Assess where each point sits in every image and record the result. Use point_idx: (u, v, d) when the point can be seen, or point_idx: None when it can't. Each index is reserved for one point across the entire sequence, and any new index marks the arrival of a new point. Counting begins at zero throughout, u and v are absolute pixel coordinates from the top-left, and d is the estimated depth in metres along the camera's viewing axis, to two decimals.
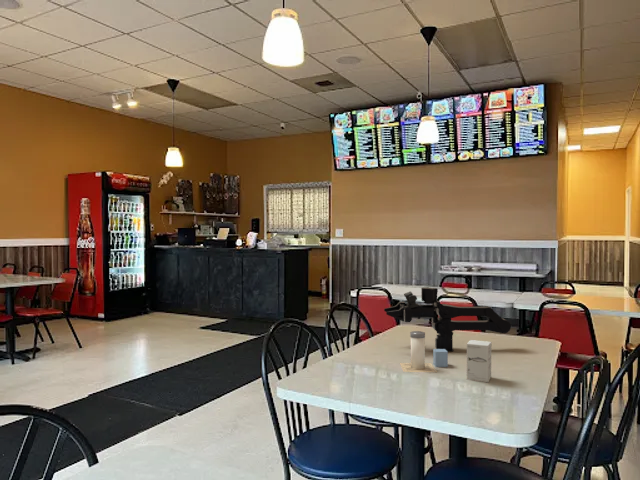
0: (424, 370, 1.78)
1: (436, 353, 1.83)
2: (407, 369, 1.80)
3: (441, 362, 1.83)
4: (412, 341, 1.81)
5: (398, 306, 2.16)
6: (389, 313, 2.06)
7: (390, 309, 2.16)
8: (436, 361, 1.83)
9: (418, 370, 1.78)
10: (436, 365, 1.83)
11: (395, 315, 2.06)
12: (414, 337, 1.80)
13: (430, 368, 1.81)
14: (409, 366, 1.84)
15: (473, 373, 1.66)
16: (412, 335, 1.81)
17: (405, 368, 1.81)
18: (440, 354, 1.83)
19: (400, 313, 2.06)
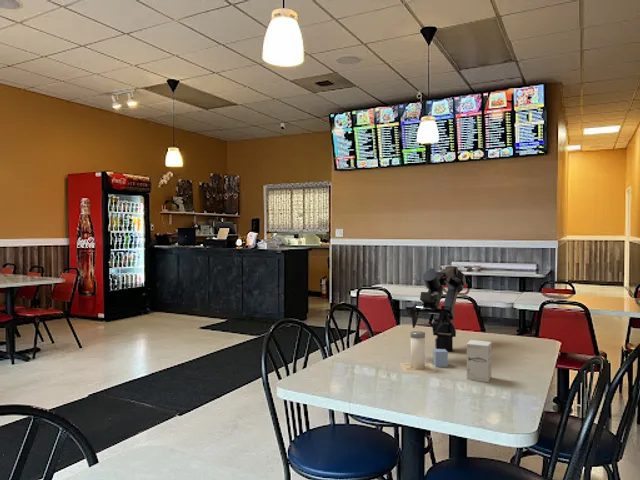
0: (424, 370, 1.78)
1: (436, 353, 1.83)
2: (407, 369, 1.80)
3: (441, 362, 1.83)
4: (412, 341, 1.81)
5: (415, 312, 1.95)
6: (438, 327, 1.87)
7: (415, 321, 1.93)
8: (436, 361, 1.83)
9: (418, 370, 1.78)
10: (436, 365, 1.83)
11: (441, 323, 1.89)
12: (414, 337, 1.80)
13: (430, 368, 1.81)
14: (409, 366, 1.84)
15: (473, 373, 1.66)
16: (412, 335, 1.81)
17: (405, 368, 1.81)
18: (440, 354, 1.83)
19: (442, 317, 1.89)
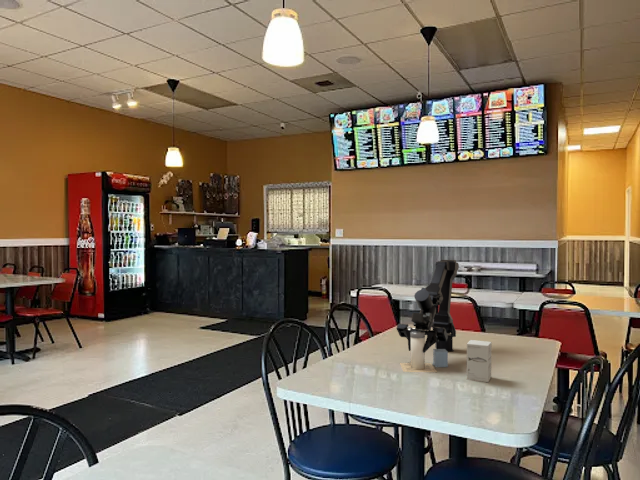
0: (424, 370, 1.78)
1: (436, 353, 1.83)
2: (407, 369, 1.80)
3: (441, 362, 1.83)
4: (412, 341, 1.81)
5: None
6: (425, 349, 1.80)
7: None
8: (436, 361, 1.83)
9: (418, 370, 1.78)
10: (436, 365, 1.83)
11: (429, 345, 1.82)
12: (414, 337, 1.80)
13: (430, 368, 1.81)
14: (409, 366, 1.84)
15: (473, 373, 1.66)
16: (412, 335, 1.81)
17: (405, 368, 1.81)
18: (440, 354, 1.83)
19: None
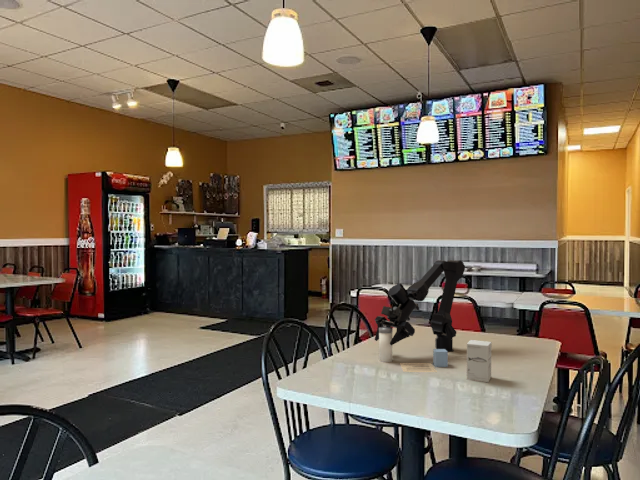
0: (424, 370, 1.78)
1: (436, 353, 1.83)
2: (407, 369, 1.80)
3: (441, 362, 1.83)
4: (379, 335, 1.93)
5: (381, 325, 1.98)
6: (393, 342, 1.88)
7: None
8: (436, 361, 1.83)
9: (418, 370, 1.78)
10: (436, 365, 1.83)
11: (398, 338, 1.89)
12: (380, 332, 1.92)
13: (430, 368, 1.81)
14: (409, 366, 1.84)
15: (473, 373, 1.66)
16: None
17: (405, 368, 1.81)
18: (440, 354, 1.83)
19: (400, 333, 1.89)
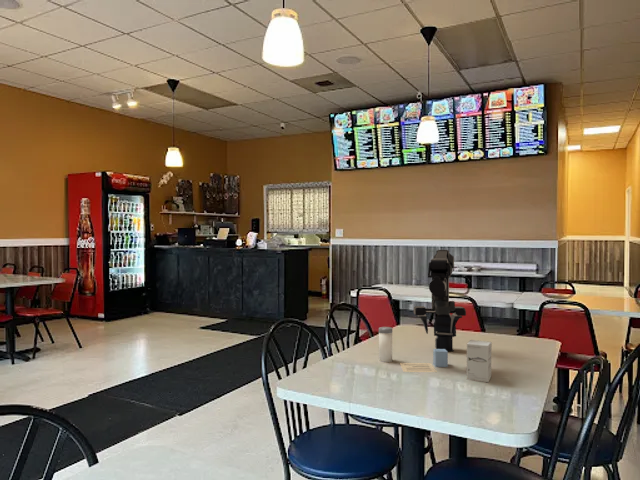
0: (424, 370, 1.78)
1: (436, 353, 1.83)
2: (407, 369, 1.80)
3: (441, 362, 1.83)
4: (379, 335, 1.93)
5: None
6: None
7: None
8: (436, 361, 1.83)
9: (418, 370, 1.78)
10: (436, 365, 1.83)
11: None
12: (380, 332, 1.92)
13: (430, 368, 1.81)
14: (409, 366, 1.84)
15: (473, 373, 1.66)
16: None
17: (405, 368, 1.81)
18: (440, 354, 1.83)
19: None
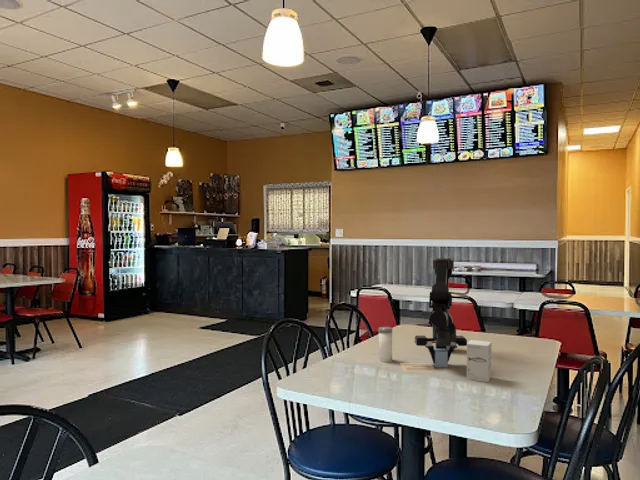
0: (424, 370, 1.78)
1: (436, 353, 1.83)
2: (407, 369, 1.80)
3: (441, 362, 1.83)
4: (379, 335, 1.93)
5: None
6: None
7: None
8: (436, 361, 1.83)
9: (418, 370, 1.78)
10: (436, 365, 1.83)
11: None
12: (379, 332, 1.92)
13: (430, 368, 1.81)
14: (409, 366, 1.84)
15: (473, 373, 1.66)
16: None
17: (405, 368, 1.81)
18: (440, 354, 1.83)
19: None
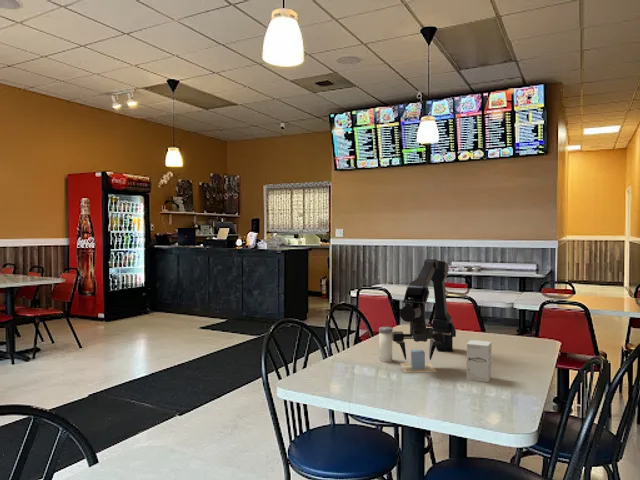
0: (424, 370, 1.78)
1: (413, 354, 1.80)
2: (407, 369, 1.80)
3: (418, 363, 1.80)
4: (379, 335, 1.92)
5: (404, 343, 1.81)
6: None
7: (405, 352, 1.82)
8: (413, 362, 1.80)
9: (418, 370, 1.78)
10: (413, 366, 1.80)
11: None
12: (380, 332, 1.91)
13: (430, 368, 1.81)
14: (409, 366, 1.84)
15: (473, 373, 1.66)
16: (379, 330, 1.92)
17: (405, 368, 1.81)
18: (417, 355, 1.80)
19: None
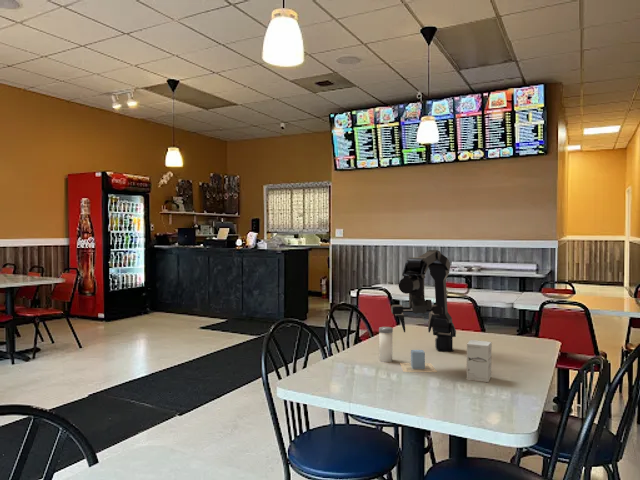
0: (424, 370, 1.78)
1: (413, 354, 1.80)
2: (407, 369, 1.80)
3: (418, 363, 1.80)
4: (379, 335, 1.93)
5: (403, 316, 1.83)
6: None
7: (404, 325, 1.84)
8: (413, 362, 1.80)
9: (418, 370, 1.78)
10: (413, 366, 1.80)
11: None
12: (380, 332, 1.92)
13: (430, 368, 1.81)
14: (409, 366, 1.84)
15: (473, 373, 1.66)
16: (379, 329, 1.93)
17: (405, 368, 1.81)
18: (417, 355, 1.80)
19: None
